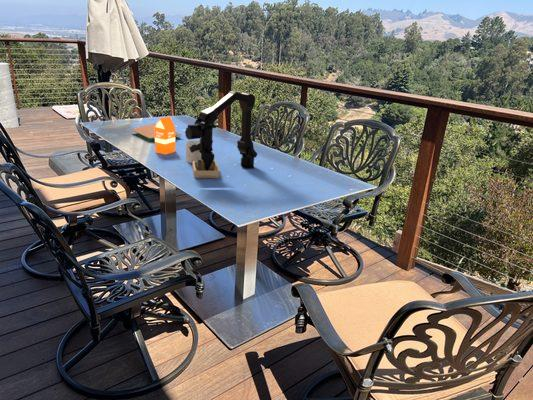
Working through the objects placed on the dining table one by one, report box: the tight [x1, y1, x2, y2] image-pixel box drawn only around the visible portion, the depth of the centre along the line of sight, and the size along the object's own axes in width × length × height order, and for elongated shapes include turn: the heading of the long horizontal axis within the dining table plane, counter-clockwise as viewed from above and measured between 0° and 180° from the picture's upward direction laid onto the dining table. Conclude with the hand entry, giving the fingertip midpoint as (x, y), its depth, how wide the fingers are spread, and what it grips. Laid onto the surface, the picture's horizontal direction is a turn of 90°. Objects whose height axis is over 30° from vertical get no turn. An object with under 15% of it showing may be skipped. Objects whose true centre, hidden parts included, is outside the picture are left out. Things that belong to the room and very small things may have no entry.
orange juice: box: [154, 116, 176, 155], centre depth 223 cm, size 8×9×20 cm
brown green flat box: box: [130, 123, 182, 143], centre depth 256 cm, size 23×33×8 cm
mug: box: [185, 140, 201, 164], centre depth 211 cm, size 12×9×11 cm
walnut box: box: [197, 157, 216, 171], centre depth 194 cm, size 8×5×7 cm, turn 103°
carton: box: [192, 161, 221, 179], centre depth 195 cm, size 12×19×5 cm, turn 13°
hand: (205, 167), depth 194 cm, fingers open, 9 cm apart
